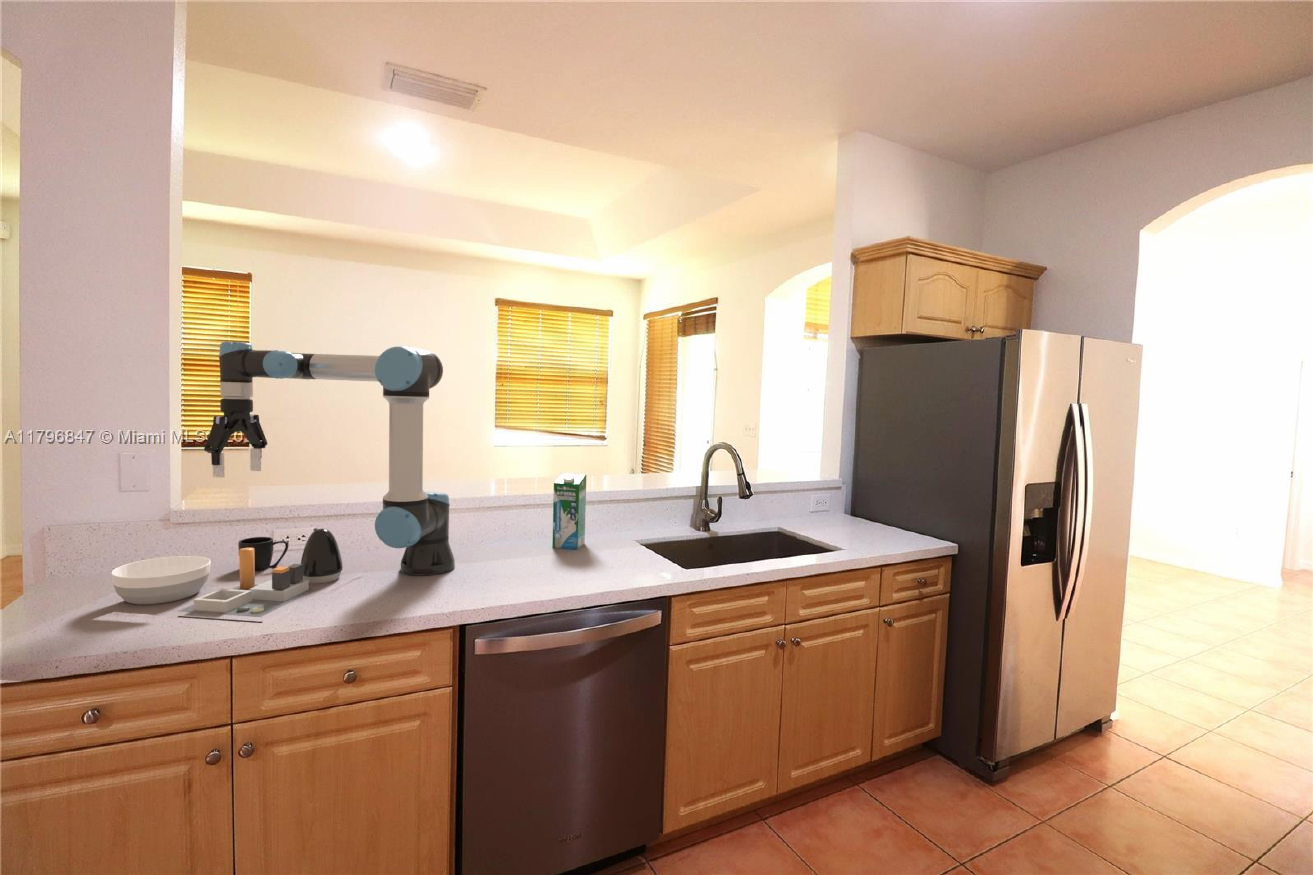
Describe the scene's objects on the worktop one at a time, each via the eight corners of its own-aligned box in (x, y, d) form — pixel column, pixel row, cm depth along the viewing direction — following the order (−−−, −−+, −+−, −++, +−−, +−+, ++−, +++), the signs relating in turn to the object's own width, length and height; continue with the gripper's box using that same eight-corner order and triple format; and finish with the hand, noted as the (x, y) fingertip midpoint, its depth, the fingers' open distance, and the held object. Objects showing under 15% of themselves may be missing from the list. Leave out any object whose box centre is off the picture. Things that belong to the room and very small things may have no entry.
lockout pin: (257, 586, 159) (257, 548, 158) (248, 590, 156) (248, 551, 155) (246, 585, 159) (245, 547, 159) (236, 589, 156) (236, 550, 155)
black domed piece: (335, 575, 174) (335, 522, 173) (348, 585, 167) (347, 529, 166) (294, 582, 167) (294, 527, 166) (306, 592, 160) (305, 535, 159)
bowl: (158, 587, 160) (157, 554, 159) (229, 590, 160) (228, 557, 159) (89, 613, 141) (88, 575, 141) (169, 617, 141) (168, 579, 140)
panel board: (316, 594, 159) (316, 579, 158) (260, 623, 139) (260, 605, 139) (243, 589, 160) (243, 574, 160) (178, 617, 141) (177, 600, 140)
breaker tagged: (290, 585, 152) (289, 566, 151) (281, 589, 149) (281, 570, 148) (280, 585, 152) (280, 566, 152) (271, 589, 149) (271, 569, 149)
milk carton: (552, 547, 213) (553, 476, 211) (560, 541, 222) (562, 472, 220) (577, 549, 212) (579, 477, 210) (584, 543, 220) (586, 474, 219)
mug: (284, 575, 173) (284, 542, 172) (234, 578, 169) (234, 544, 168) (291, 567, 181) (291, 535, 180) (244, 570, 177) (243, 537, 176)
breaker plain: (303, 579, 157) (303, 564, 156) (295, 583, 154) (295, 567, 153) (294, 579, 157) (294, 563, 157) (286, 582, 154) (286, 567, 154)
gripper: (256, 397, 184) (257, 467, 186) (186, 397, 159) (188, 479, 161) (280, 398, 183) (281, 468, 185) (213, 399, 159) (214, 480, 160)
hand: (238, 474), depth 173 cm, fingers open, 13 cm apart
